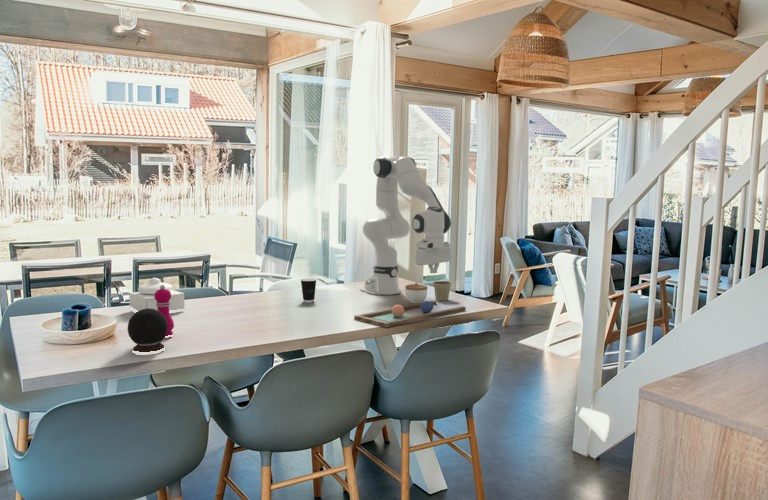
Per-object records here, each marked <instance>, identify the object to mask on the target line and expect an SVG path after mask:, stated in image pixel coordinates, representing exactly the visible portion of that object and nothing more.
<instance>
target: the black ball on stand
mask: <svg viewBox="0 0 768 500" xmlns="http://www.w3.org/2000/svg"><path fill="white" fill-rule="evenodd" d="M167 331H168V323H167V320H166V318H165V316H164V315H163V314H162V313H161V312H159V311H157V310H155V309H148V308H147V309H142V310H140V311H138V312H136V313H133V315H132V316H131V317H130V318H129V320H128V323H127V334H128V336H129V338H130V339H131V341H132V342H133V343H134V344H136V345H135V346H133V347H132V349H133V350H134V351H139V352H150V351H157V350H160V349H162V348H164V346H165V345H164V343H162V341H163V340H165V339H164V338H165V336H166V334H167Z"/></svg>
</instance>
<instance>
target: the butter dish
mask: <svg viewBox="0 0 768 500" xmlns="http://www.w3.org/2000/svg"><path fill="white" fill-rule="evenodd" d="M161 285H164V286H165V289H167V290H169V291H170V293H171V299H170V300H169V301H170V306H169V311H170V310H177V309H185V293H184V292H181V291H178V290H173V289H174V287H173V285H172V284H170V283H168V282H161V280H160V279H159V278H157V277H152V278H150V279H149V281H148V283H147V282H146V283H144V284H142V285H140V286H138V287H137V291H135V292H129V295H128V296H129V297H128V298H129V300H128V301H129V307H130V306H131V307H133V308H134V309H136V310H138V311H140V310H142V309H147V308H148V309H155V310H157V311H158V308H157V306H156V302H157V301H156V300H155V298H154V295H155V292H156V291H157V290H160V286H161ZM185 310H186V309H185Z"/></svg>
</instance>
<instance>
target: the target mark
mask: <svg viewBox="0 0 768 500" xmlns="http://www.w3.org/2000/svg"><path fill="white" fill-rule="evenodd" d="M408 317H413V316H412V315H407V314H405V313H404V314H403V316H401V317H395V316H394V315H393V314H392V313H391V314H386V315H380V316H375V317H371V318H372V319H376V320H380V321H384V322H389V321H394V320H398V319H403V318H408Z"/></svg>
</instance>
